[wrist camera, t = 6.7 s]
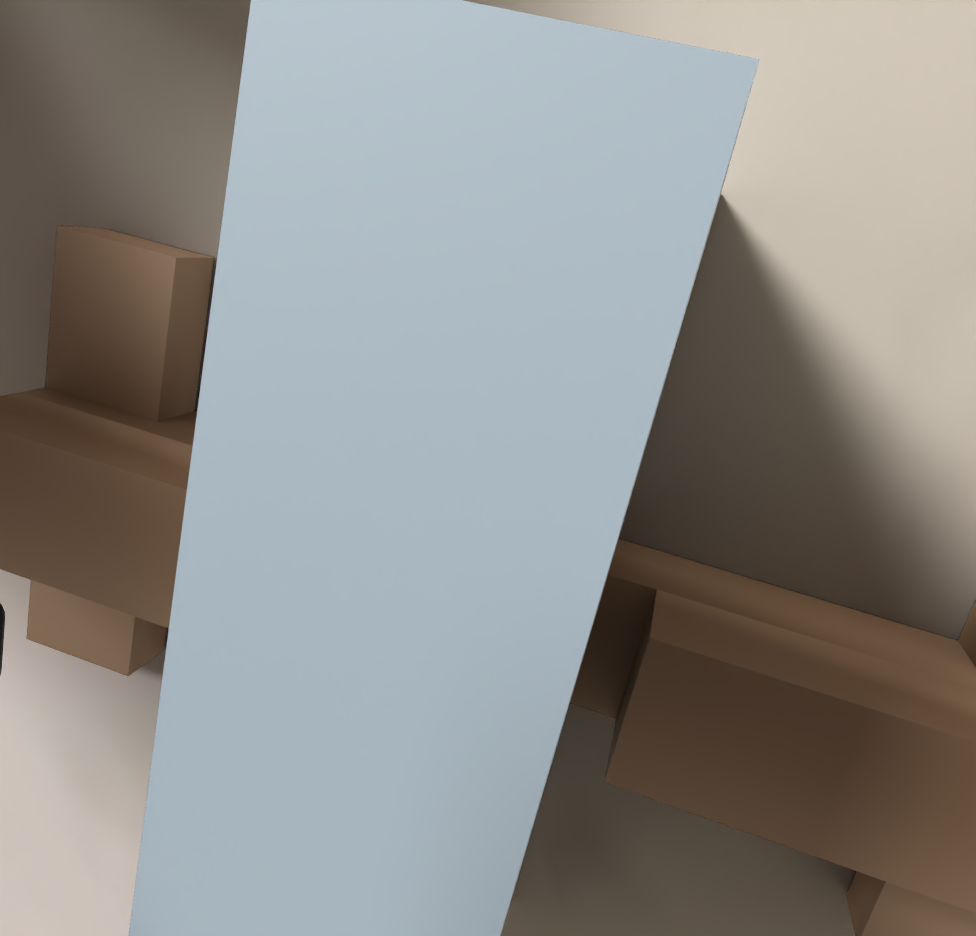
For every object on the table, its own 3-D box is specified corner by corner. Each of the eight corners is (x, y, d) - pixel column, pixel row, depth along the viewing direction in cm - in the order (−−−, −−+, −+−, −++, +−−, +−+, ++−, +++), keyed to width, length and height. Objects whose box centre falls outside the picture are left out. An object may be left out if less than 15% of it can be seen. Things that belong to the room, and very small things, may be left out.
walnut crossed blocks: (981, 942, 13) (1061, 1139, 10) (68, 615, 15) (-75, 695, 13) (1197, 517, 11) (1374, 611, 8) (102, 227, 13) (-59, 220, 11)
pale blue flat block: (510, 903, 15) (305, 1589, 7) (382, 853, 15) (60, 1451, 8) (721, 192, 11) (758, 56, 4) (547, 152, 12) (255, -39, 4)
